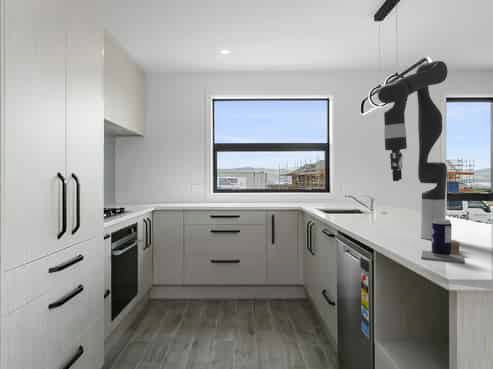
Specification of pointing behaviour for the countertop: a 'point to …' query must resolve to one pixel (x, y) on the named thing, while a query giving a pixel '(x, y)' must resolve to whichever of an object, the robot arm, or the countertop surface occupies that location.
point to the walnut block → (454, 247)
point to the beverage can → (441, 237)
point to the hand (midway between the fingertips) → (397, 180)
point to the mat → (451, 258)
